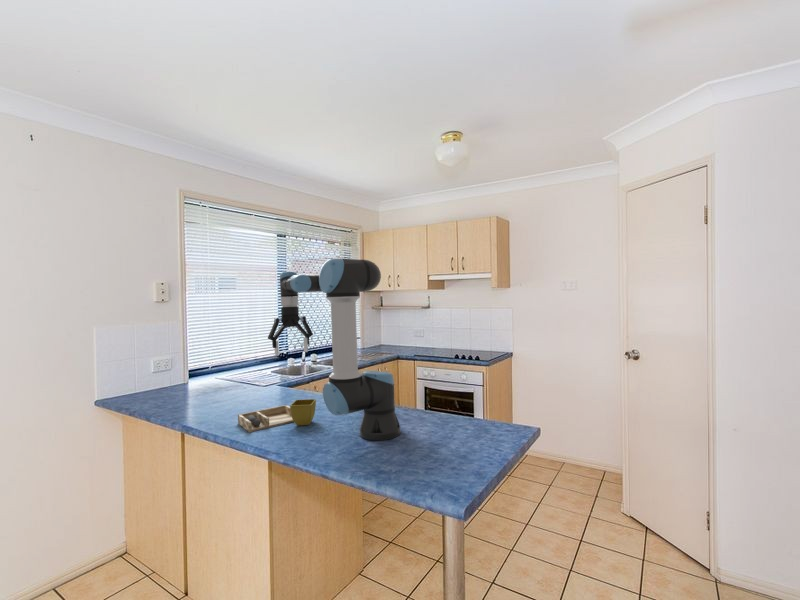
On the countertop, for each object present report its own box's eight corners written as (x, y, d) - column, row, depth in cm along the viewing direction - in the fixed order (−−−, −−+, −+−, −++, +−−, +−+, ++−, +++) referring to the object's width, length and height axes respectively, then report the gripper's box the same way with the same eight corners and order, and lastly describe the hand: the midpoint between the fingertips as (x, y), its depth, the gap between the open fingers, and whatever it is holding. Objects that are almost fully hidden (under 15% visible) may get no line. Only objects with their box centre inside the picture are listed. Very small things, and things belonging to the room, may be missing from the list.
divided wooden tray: (299, 420, 168) (299, 411, 168) (249, 432, 155) (248, 422, 155) (286, 413, 180) (285, 404, 180) (238, 423, 167) (237, 414, 167)
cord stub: (261, 426, 160) (261, 419, 160) (254, 427, 158) (254, 420, 158) (253, 420, 168) (252, 413, 168) (246, 421, 167) (246, 415, 167)
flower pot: (312, 426, 159) (311, 404, 159) (290, 427, 159) (289, 405, 159) (317, 420, 168) (316, 398, 168) (296, 420, 168) (295, 399, 168)
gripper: (311, 305, 188) (313, 349, 189) (259, 307, 173) (261, 356, 173) (319, 305, 182) (320, 351, 183) (264, 307, 167) (266, 357, 167)
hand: (291, 353), depth 178 cm, fingers open, 13 cm apart
